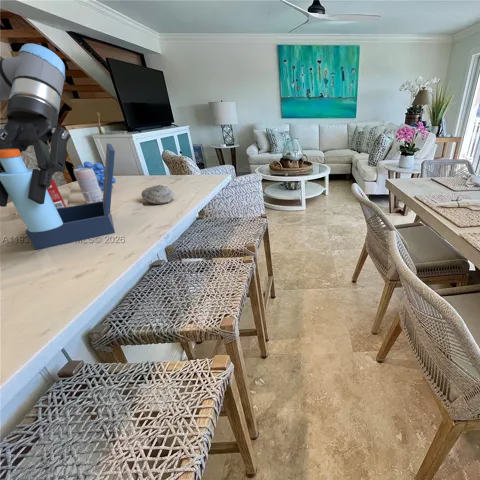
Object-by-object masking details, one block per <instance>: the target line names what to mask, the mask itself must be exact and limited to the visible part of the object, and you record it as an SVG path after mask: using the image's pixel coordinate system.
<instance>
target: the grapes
mask: <svg viewBox="0 0 480 480" xmlns="http://www.w3.org/2000/svg"><path fill="white" fill-rule="evenodd" d="M82 164H83V165H77V167H76V169H79V168H92V169H93V171H94V173H95V176H96V178H97V181H98V183H99V186H100V189H101V191H102V192H103V191H104V177H105V166H104V165H103V164H102V163H100V162H95V163H92V162H90V161H84V162H83V163H82ZM116 182H117V180H116V178H115V177H114V176H113V180H112V189H113V188H114V186H113V184H116Z"/></svg>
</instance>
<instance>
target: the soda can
mask: <svg viewBox="0 0 480 480" xmlns="http://www.w3.org/2000/svg"><path fill="white" fill-rule="evenodd" d="M46 189H47V191H48V193H49V195H50V197H51V199H52V201H53V203H54V205H55V207H56V209H57V208H64V207H67V205H66V203H65V201H64V199H63V197H62V195H61V192H60V190H59V188H58V186H57V184H56V182H55V180H54V179H53V178H52V180H51V186H50V187H49V188H46Z"/></svg>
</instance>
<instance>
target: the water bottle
mask: <svg viewBox="0 0 480 480" xmlns="http://www.w3.org/2000/svg"><path fill="white" fill-rule="evenodd" d="M0 162H1V164H2V166H3V167H4V169H5V171H6V172H2V173H0V181H1V183H2V184H3V186H4V188H5V190H6V191H7V193H8V195H9V196H8V198H9V199H10V200H11V202H12V204H13V206H14V207H15V209H16V211H17V213H18V214H19V216H20V218H21V220H22V221H23V223H24V225H25V227H26V229H27V228H28V230H29V231H30V232H41V231H47V230H51V229H54V228H57V227H59V226H61V225H62V224H63V222H62V219H61V217H60V215H59V213H58V211H57V209H56V207H55V205H54V203H53V201H52V199H51V197H50V195H49V193H48V191H47V189H46V194H45V200H44V204H38V203H36V202H34V201H32V200H30V199H28V194H29V189H30V183H31V178H32V172H33V169H34V168H27V166H26V164H25V162H24V160H23V158H22V153H20V151H19V149H3V150H0Z"/></svg>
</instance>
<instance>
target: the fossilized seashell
mask: <svg viewBox="0 0 480 480" xmlns="http://www.w3.org/2000/svg"><path fill="white" fill-rule="evenodd" d="M141 198H142V199H143V200H144V201H145V202H147V203H150V204H153V205H164V204H169V203H171V202H172V201H173V200H175V198H176V195H175V193H174V191H172V190H171V189H170V188H169V187H168V186H165V185H162V184H158V185H157V184H156V185H153V186H150V187H146V188H145V189H143V190H142V191H141Z"/></svg>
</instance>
